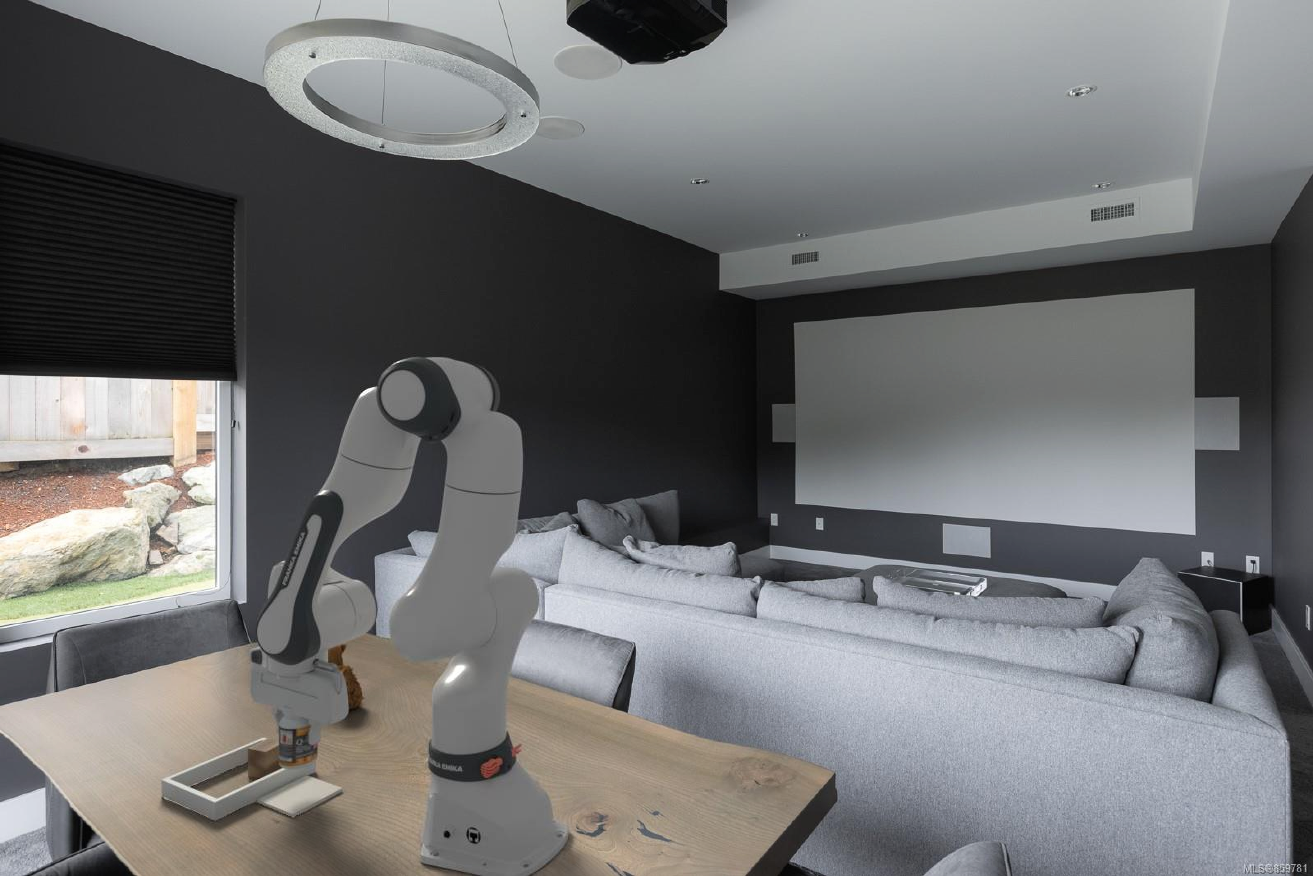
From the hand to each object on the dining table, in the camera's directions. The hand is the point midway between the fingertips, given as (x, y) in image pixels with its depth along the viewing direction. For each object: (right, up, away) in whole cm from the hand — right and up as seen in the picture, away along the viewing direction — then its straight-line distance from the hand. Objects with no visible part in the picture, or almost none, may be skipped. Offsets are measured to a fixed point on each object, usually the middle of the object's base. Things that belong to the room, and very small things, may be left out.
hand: (298, 738), depth 118 cm
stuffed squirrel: (-10, -9, +37) cm, 40 cm away
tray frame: (-12, -10, +4) cm, 16 cm away
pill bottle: (0, -4, 0) cm, 4 cm away
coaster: (0, -10, 0) cm, 10 cm away
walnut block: (-10, -10, +8) cm, 16 cm away
